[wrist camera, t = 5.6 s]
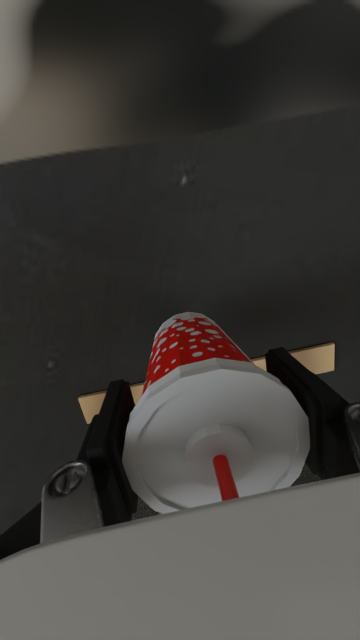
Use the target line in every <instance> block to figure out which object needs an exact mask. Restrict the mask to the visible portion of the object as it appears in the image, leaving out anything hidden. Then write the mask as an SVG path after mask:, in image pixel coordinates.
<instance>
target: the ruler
mask: <svg viewBox="0 0 360 640" xmlns="http://www.w3.org/2000/svg"><path fill="white" fill-rule="evenodd" d="M334 352H335V344H334V343H332V342H331V343H326V344H322V345H317V346H312V347H308V348H303V349H298V350H294V351H289V353H290V354H291V355H292V356H293V357H294V358H295V359H297V360H298V361H299V362H300V363H301V364H302V365H304V366H305V367H306V368H307V369H308V370H309V371H311V372H313V373H314V374H319V373H324V372H329V371H333V370H334ZM251 361H252V362H253V363H254V364H255V365H256V366H258V367H260V368H261V369H263V370H265V371H266V360H265V357H261V358H256V359H251ZM144 383H145V382H143V383H138V384H134V385H130V388H131V392H132V396H133V399H134V403H135V406H136V404H137V403H138V401H139V400H140V398H141V396H142V392H143V388H144ZM106 392H107V390H105V391H101V392H96V393H91V394H86V395H82V396H79V398H78V400H79V403H80V406H81V408H82V411H83V414H84V416H85V419H86V422H87V424H89V423H91V421H92V418H93V416H94V415H96V414H99V412H100V409H101V406H102V403H103V400H104V398H105V395H106Z"/></svg>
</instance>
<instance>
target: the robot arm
mask: <svg viewBox="0 0 360 640" xmlns="http://www.w3.org/2000/svg"><path fill="white" fill-rule="evenodd" d="M265 360H266V372H268V373H270V374H271V375H273V376H275V377H277V378H278V379H279V380H280V381H281V383H282V384H283V385H285V386H286V387H288V389H289V390H290V391H291V392H292V394H293V395H294V397H295V398H296V400H297V401H298V403H299V405H300V406H301V408H302V409H303V411H304V412H305V414H306V415H307V417H308V421H309V434H310V450H309V453H308V455H307V458H306V460H305V462H306V464H307V465H308V467H309V468H310V470H311V471H312V473H313V474H314V475H319V476H320V478H321V479H322V480H321V481H316V482H311V483H306V484H301V485H297V486H292V487H287V488H282V489H277V490H273V491H268V492H263V493H258V494H254V495H249V496H244V497H239V498H235V499H230V500H225V501H221V502H216V503H211V504H206V505H202V506H197V507H192V508H188V509H183V510H179V511H174V512H170V513H165V514H160V515H156V516H151V517H147V518H142V519H137V520H133V521H131V515H132V514H133V513H136V510H137V500H138V495H137V494H136V493H135V492H134V491H133V490H132V488H131V485H130V483H129V480H128V477H127V475H126V472H125V469H124V466H123V463H122V457H123V450H124V443H125V435H126V429H127V424H128V423H129V418H130V413H131V412H132V410H133V409H134V407H135V403H134V399H133V396H132V392H131V388H130V385H129V382H124V380H123V379H122V380H117V381H112V382H110V384H109V386H108V389H107V392H106V395H105V398H104V400H103V403H102V406H101V409H100V412H99V414H96V415H94V416H93V418H92V421H91V423H90V426H89V429H88V431H87V434H86V436H85V439H84V442H83V444H82V447H81V449H80V452H79V455H78V457H77V460H76V461H71V462H68V463H66V464H64V465H62V466H61V467H59V468H58V469H57V470H55V471H54V472H53V473H52V474H51V475H50V476H49V478H48V479H47V480H46V482H45V484H44V486H43V490H42V502H41V503H39V504H38V505H37V506H36V507H34V508H33V509H32V510H31V511H30V512H28V513H27V514H26V515H25V516H24V517H22V518H21V519H20V520H19V521H17V522H16V523H15V524H14V525H13V526H11V527H10V528H9V529H8V530H7V531H5V532H4V533H3V534H2V535H0V640H360V402H355V403H352V404H349V403H348V402H347V401H346V400H344V399H343V398H342V397H341V396H340V395H339V394H337V393H336V392H335V391H334V390H333V389H332V388H330V387H329V386H328V385H327V384H326V383H325V382H323V381H322V380H321V379H320V378H319V377H318V376H316V375H315V374H314V373H313V372H311V371H309V370H308V369H307V368H306V367H305V366H304V365H302V364H301V363H300V362H299V361H298V360H297V359H295V358H294V357H293V356H292V355H291V354H290V353H289V352H287V351H286V350H285V349H284V348H283V347H280V348H275V349H270V350H269V352H268V353H266V354H265Z"/></svg>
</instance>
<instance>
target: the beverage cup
mask: <svg viewBox="0 0 360 640" xmlns="http://www.w3.org/2000/svg"><path fill="white" fill-rule="evenodd" d="M309 450H310V434H309V421H308V417H307V415H306V414H305V412H304V411H303V409H302V408H301V406H300V405H299V403H298V401H297V400H296V398H295V397H294V395H293V394H292V392H291V391H290V390H289V389H288V387H286V386H285V385H283V384H282V383H281V381H280V380H279V379H278V378H277V377H275V376H273V375H271V374H270V373H268V372H266V371H265V370H263V369H261V368H260V367H258V366H256V365H255V364H254V363H253V362H252V361H251V360H250V359H249V358H248V357H247V356H246V355H245V353H244V352H243V351H242V350H241V349H240V348H239V347H238V346H237V345H236V344H235V343H234V342H233V341H232V340H231V339H230V338H229V337H228V336H227V335H226V333H225V332H224V331H223V330H222V329H221V328H220V327H219V326H218V325H217V324H216V323H215V322H214V321H213V320H211V319H210V318H208V317H206V316H205V315H203V314H199V313H193V312H185V313H181V314H177V315H174V316H172V317H171V318H169V319H168V320H167V321H165V322H164V323H163V324H162V325H161V327H160V328H159V330H158V331H157V333H156V335H155V339H154V343H153V348H152V352H151V357H150V361H149V365H148V370H147V374H146V379H145V383H144V388H143V392H142V396H141V398H140V400H139V401H138V403H137V404H136V406H135V407H134V409H133V410H132V412H131V413H130V418H129V423H128V424H127V429H126V435H125V443H124V450H123V457H122V463H123V466H124V469H125V472H126V475H127V477H128V480H129V483H130V485H131V488H132V490H133V491H134V492H135V493H136V494H137V495H138V496H139V497H140V498H141V499H142V500H144V501H145V502H146V503H147V504H148V505H149V506H150V507H151V508H152V509H153V510H155V511H157V512H160V513H162V514H165V513H170V512H174V511H179V510H183V509H188V508H192V507H197V506H202V505H206V504H211V503H216V502H221V501H225V500H230V499H235V498H239V497H244V496H249V495H254V494H258V493H263V492H268V491H273V490H277V489H282V488H287V487H290V485H291V484H292V483H293V482H294V481H295V480H296V479H297V478H298V477H299V476H300V473H301V471H302V468H303V465H304V463H305V460H306V458H307V455H308V453H309Z"/></svg>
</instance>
